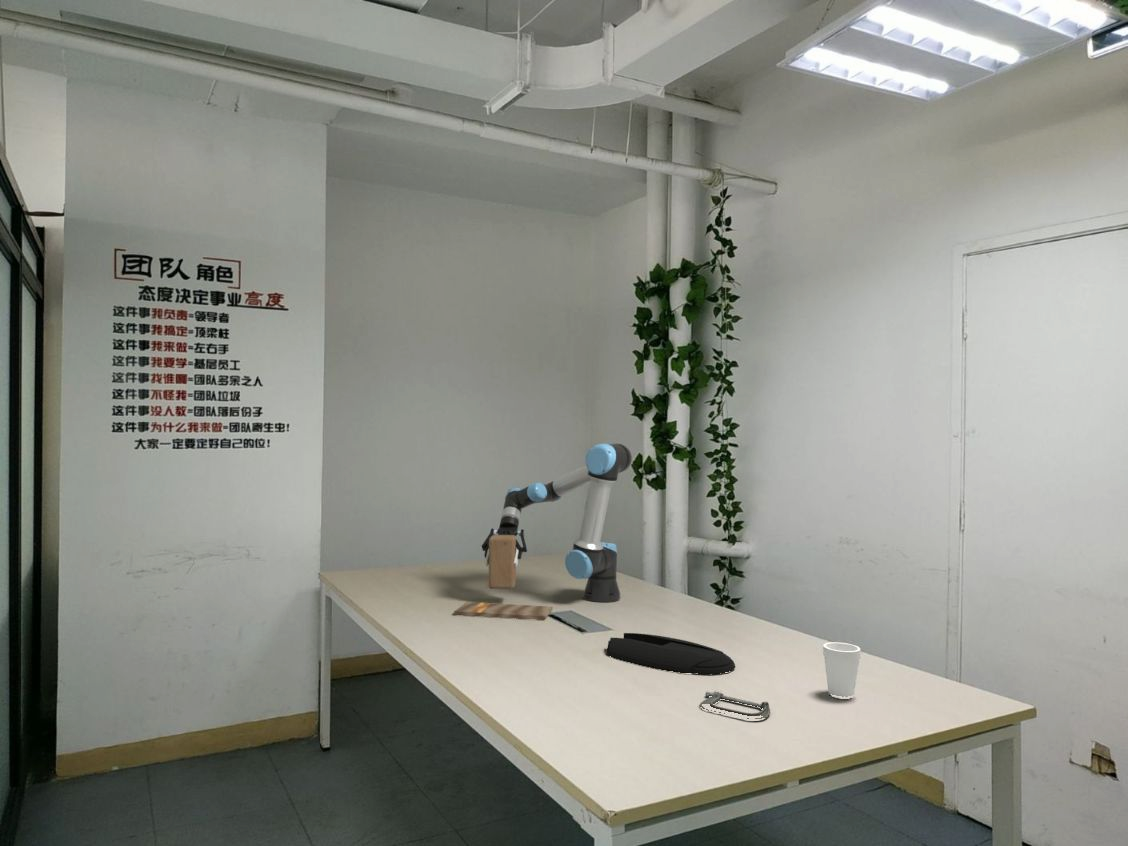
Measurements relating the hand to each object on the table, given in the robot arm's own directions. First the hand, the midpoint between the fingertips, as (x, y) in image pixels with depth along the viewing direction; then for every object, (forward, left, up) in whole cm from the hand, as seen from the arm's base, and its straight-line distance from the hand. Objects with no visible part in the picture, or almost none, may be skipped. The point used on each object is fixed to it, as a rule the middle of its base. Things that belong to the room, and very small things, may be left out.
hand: (500, 564), depth 319 cm
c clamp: (-86, +100, -16) cm, 133 cm away
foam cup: (-114, +85, -16) cm, 143 cm away
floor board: (-5, +14, -15) cm, 22 cm away
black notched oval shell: (-68, +60, -16) cm, 93 cm away
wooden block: (0, -3, -9) cm, 10 cm away
